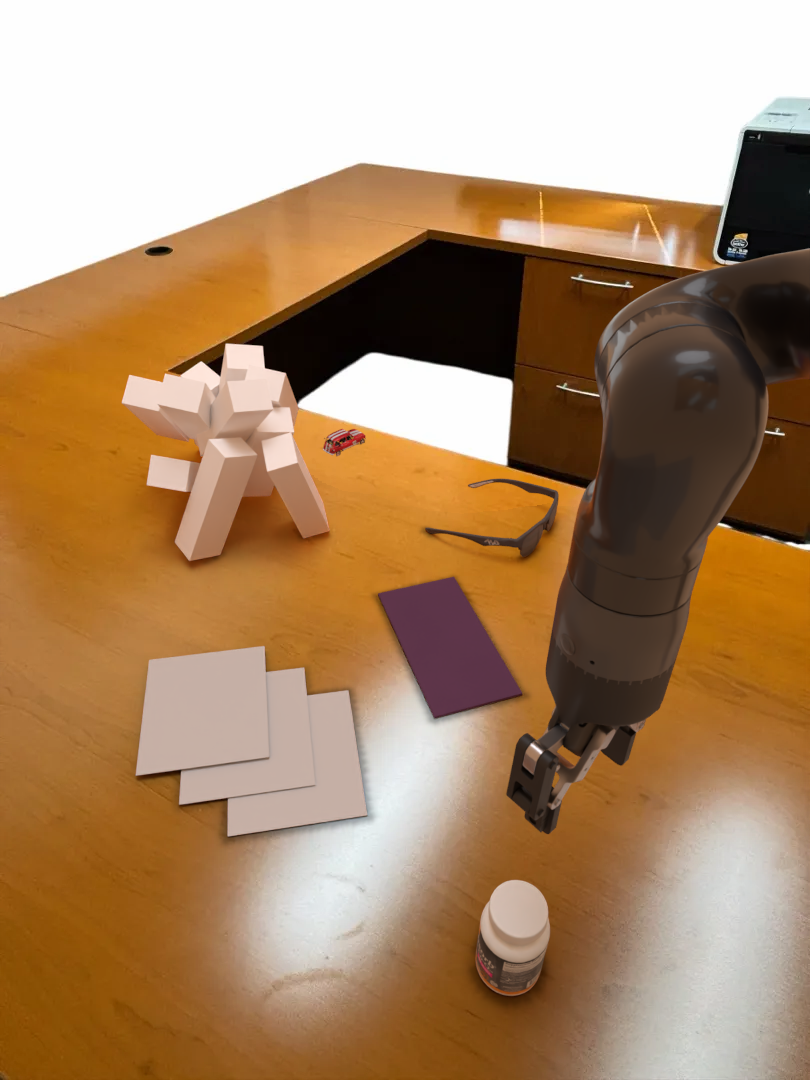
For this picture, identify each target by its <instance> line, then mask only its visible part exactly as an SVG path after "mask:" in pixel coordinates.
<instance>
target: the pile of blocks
mask: <svg viewBox="0 0 810 1080" xmlns="http://www.w3.org/2000/svg"><path fill="white" fill-rule="evenodd" d="M224 345H225V346H224V352H223V359H222V364H221V372H220V375H219V374H218V373H216V372H215V371H214V370H213V369H211V368H210V367H209V366H208V365H207V364H206V363H204V362H203V361H199V362H197V364H195V365H193V366H192V367H190V368H189V369H187V370H186V371H185V372H183V373H182V374H180V376H178V375H174V374H170V373H164V377H163V379H162V381H158V380H154V379H150V378H145V377H141V376H136V375H133V374H132V375H131V374H129V375H128V378H127V382H126V386H125V390H124V393H123V397H122V400H121V404H122V405H123V406H124V407H125V408H126V409H128V410H129V412H130V413H132V414H133V415H134V416H135V417H136V418H138V419H139V420H140V421H141V423H143V424H144V425H145V426H146V427H147V428H148V429H149V430H151V431H152V432H153V433H154V434H155V435H156V436H159V437H164V438H169V439H172V440H177V441H182V442H186V443H190V440H193V442H194V445H196V446H197V448H198V450H199V455H200V457H202V458H201V461H200V462H195V461H191V460H184V459H179V458H173V457H167V456H161V455H155V454H150V460H149V467H148V471H147V472H148V473H147V480H146V486H148V487H149V486H150V487H155V488H162V489H168V490H173V491H179V492H184V493H189V492H190V494H189V497H188V500H187V503H186V506H185V509H184V512H183V515H182V518H181V521H180V524H179V528H178V531H177V534H176V536H175V539H174V544H175V545H176V546H177V547H178V549H179V550H180V551H181V552H182V553H183V555H184V556H185V557H186V559H187V560H188V561H189V562H192V561H197V560H201V559H207V558H212V557H218V556H221V555H222V552H223V549H224V546H225V543H226V541H227V538H228V536H229V533H230V530H231V528H232V525H233V522H234V520H235V517H236V514H237V512H238V508H239V506H240V503H241V501H242V499H243V498H246V497H247V498H248V497H249V498H251V497H271V496H272V493H273V490H274V489H276V491H277V493H278V495H279V496H280V498H281V500H282V502H283V504H284V506H285V508H286V509H287V511H288V512H289V515H290V517H291V519H292V521H293V522H294V524H295V526H296V528H297V530H298V531H299V534H300V535H301V537H302V539H306V538H310V537H313V536H317V535H320V534H323V533H327V532H330V530H331V529H330V526H329V521H328V517H327V513H326V508H325V504H324V501H323V499H322V497H321V495H320V492H319V490H318V487H317V486H316V484H315V482H314V479H313V476H312V475H311V473H310V470H309V468H308V466H307V463H306V462H305V459H304V457H303V455H302V453H301V451H300V449H299V447H298V444H297V442H296V440H295V438H294V434H295V425H296V421H297V418H298V414H299V410H300V409H299V406H298V402H297V400H296V398H295V395H294V392H293V389H292V386H291V384H290V380H289V378H288V376H287V373H286V372H282V371H278V370H275V369H269V368H266V367H265V365H266V364H265V356H264V346H263V345H252V344H241V343H240V344H239V343H236V344H235V343H225V344H224Z"/></svg>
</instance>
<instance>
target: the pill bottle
mask: <svg viewBox="0 0 810 1080" xmlns="http://www.w3.org/2000/svg"><path fill="white" fill-rule="evenodd" d="M550 938H551V925H550V919H549V907H548V902H547V900H546V898H545V896H544V894H543V893H542V892H541V890H540V889H539V888H538V887H537V886H535V885H533V884H532V883H530V882H528V881H525V880H520V879H510V880H507V881H504V882H502V883H500V884H499V885H498V886H497V887H495V888H494V890H493V892H492V893H491V895H490V898H489V900H488V901H487V903H486V904H485V906H484V907H483V910H482V912H481V915H480V921H479V928H478V935H477V940H476V941H477V942H476V948H475V966H476V970H477V973H478V975H479V977H480V979H481V980H482V982H483V983H484V984H485V985H486V986H487V987H488V988H489V989H490V990H492V991H494V992H495V993H497V994H499V995H501V996H502V995H503V996H506V997H507V996H508V997H514V996H515V997H516V996H520V995H523V994H525V993H527V992H528V991H530V990H531V989H532V988H533V987H534V986H535V985H536V983H537V981H538V979H539V977H540V975H541V971H542V968H543V964H544V961H545V956H546V952H547V949H548V946H549V941H550Z"/></svg>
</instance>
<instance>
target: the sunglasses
mask: <svg viewBox="0 0 810 1080" xmlns="http://www.w3.org/2000/svg"><path fill="white" fill-rule="evenodd" d="M494 483H498V484H499V483H502V484H509V485H512V486H514V487H518V488H520V489H522V490H523V491H525V492H527V493H529V494H537V495H538V494H539V495H543V496H546V497H549V498H552V500H553V501H552V503H551V506H550V507H549V509H548V511H547V512H546V513H545V515H544V517H543V518H542V519H540V520H539V521H538V522H537V523H535V524H534V525H533V526H531V527H530V528H529V529H527V530H526V531H525V532H524V533H522V534H521V535H520V536H518V537H517V538H512V537H510V538H509V537H498V536H487V535H480V534H474V533H467V532H460V531H456V530H455V531H453V530H447V529H441V528H434V527H425V529H424V530H425V531H426V532H427V533H429V534H431V535H439V534H440V535H442V534H444V535H449V536H453V537H458V538H463V539H467V540H470V541H472V542H474V543H475V544H478V545H480V546H483V547H492V546H493V547H510V548H513V549H514V548H515V549H518V550H519V554H520V556H521V557H522V558H526V557H528V556H530V555H531V554H532V553H533V552H534V551H535V549H536V548H537V547H538V545H539V543H540V541H541V539H542V537H543V533H544V531H546V532H549V531H550V530H551V528H552V526H553V524H554V523H555V520H556V519H555V518H556V515H557V512H558V505H559V496H560V495H559V492H558V490H555V489H552V488H550V487H546V486H542V485H537V484H534V483H530V482H526V481H521V480H517V479H511V478H490V479H484V480H481V481H477V482H472V483H469V484H467V487H468V488H471V489H477V488H480V487H482V486H486V485H489V484H494Z"/></svg>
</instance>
